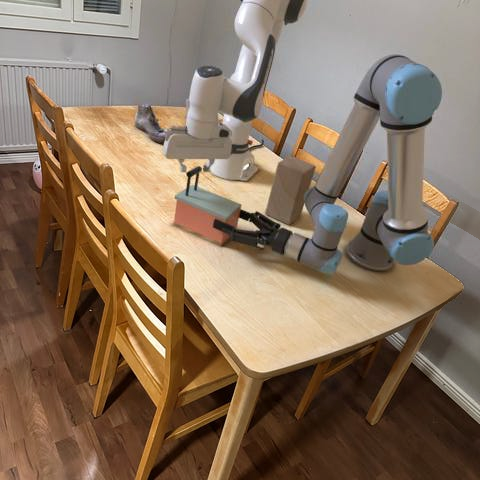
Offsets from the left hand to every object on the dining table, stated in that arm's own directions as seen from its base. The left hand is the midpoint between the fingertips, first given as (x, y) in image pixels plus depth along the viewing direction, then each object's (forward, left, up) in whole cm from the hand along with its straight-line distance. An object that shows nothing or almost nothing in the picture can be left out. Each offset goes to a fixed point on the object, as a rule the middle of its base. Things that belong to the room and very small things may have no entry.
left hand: (194, 171), depth 132 cm
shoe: (-46, -56, -18) cm, 75 cm away
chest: (-1, +7, -18) cm, 19 cm away
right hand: (-1, +12, -11) cm, 16 cm away
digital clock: (-83, -59, -18) cm, 103 cm away
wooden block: (-30, +20, -18) cm, 40 cm away
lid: (-1, +6, -8) cm, 11 cm away
